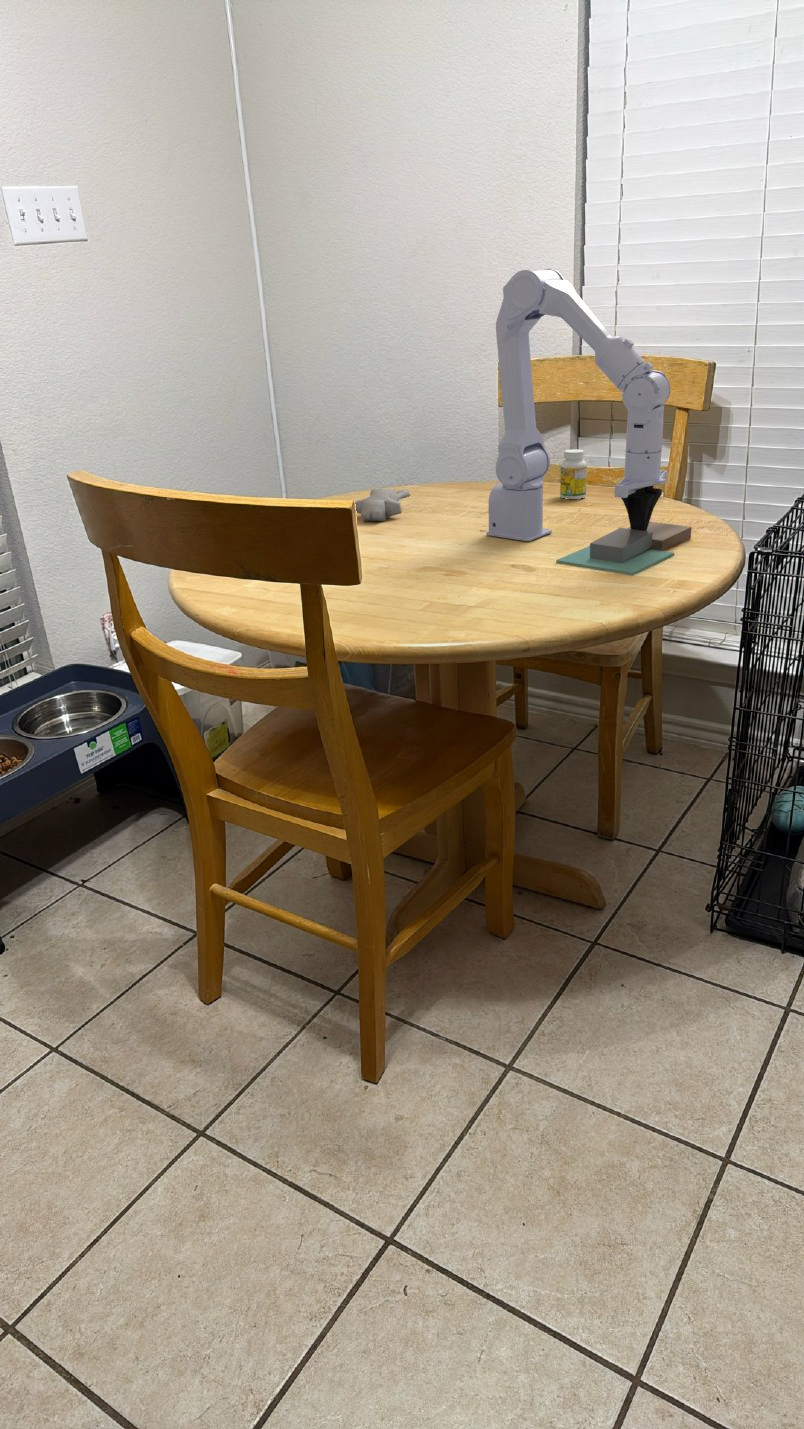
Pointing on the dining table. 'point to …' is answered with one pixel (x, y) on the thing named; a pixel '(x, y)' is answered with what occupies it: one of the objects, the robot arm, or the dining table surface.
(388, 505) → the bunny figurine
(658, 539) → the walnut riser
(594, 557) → the slate tile
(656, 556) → the teal mat
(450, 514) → the dining table surface
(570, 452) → the supplement bottle
